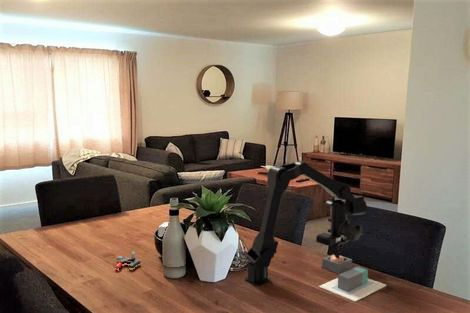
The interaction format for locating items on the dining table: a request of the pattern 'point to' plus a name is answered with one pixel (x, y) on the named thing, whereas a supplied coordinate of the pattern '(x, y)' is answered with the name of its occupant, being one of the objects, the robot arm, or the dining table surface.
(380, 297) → the dining table surface
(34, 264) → the dining table surface
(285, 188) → the robot arm
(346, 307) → the dining table surface
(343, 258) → the button
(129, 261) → the grey and red toy
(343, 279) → the grey and teal block
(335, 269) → the button housing
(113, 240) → the dining table surface
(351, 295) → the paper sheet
